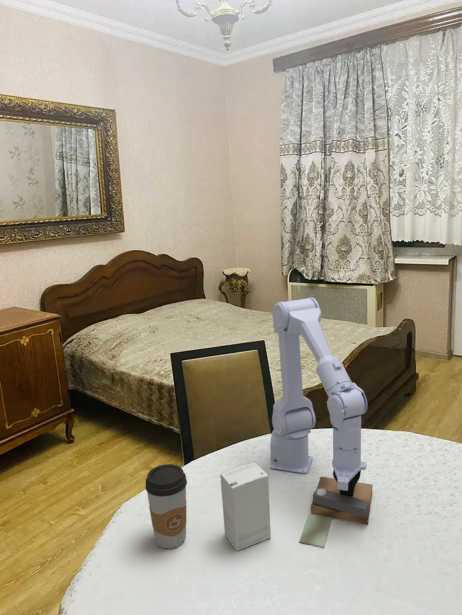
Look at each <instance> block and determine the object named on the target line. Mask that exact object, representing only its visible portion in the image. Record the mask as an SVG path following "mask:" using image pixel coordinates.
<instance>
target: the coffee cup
mask: <svg viewBox="0 0 462 615" xmlns="http://www.w3.org/2000/svg"><path fill="white" fill-rule="evenodd" d="M186 475H187V474H186V473H185V472H184V470H183V468H182V467H181V466H180V465H177V464H171V463H169V464H167V463H166V464H160V465H157V466H155V467H153V468H151V469H150V470H149V471H148V473H147V477H146V478H145V486H144V488H145V491H146V493H147V494H146V495H147V500H148V508H149V513H150V519H151V524H152V525H151V526H152V528H153V535H154V540H155V542H156V544H157V546H159V547H160V546H161V547H160V548H162V547H163V548H162V549H165V548H172V549H175V548H174V547H176V548H177V546H178V547H180V546H181V545H182V544H183V543H184V542H183V541H185V540H186V537H187V485H188V480H187V476H186ZM184 539H185V540H184ZM182 542H183V543H182ZM181 543H182V544H181ZM180 544H181V545H180ZM179 545H180V546H179Z"/></svg>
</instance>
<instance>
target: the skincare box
mask: <svg viewBox="0 0 462 615" xmlns="http://www.w3.org/2000/svg"><path fill="white" fill-rule="evenodd" d="M219 478H220V490H221V501H222V513H223V527H224V535H225V537H226V538H227V540H228V541H229V540H230V541H229V542H230V544H231V543H232V544H231V545H232V547H233V546H234V547H235V548H234V547H233V548H234V549H235V551H236V550H239V551H241V550H243V548H244V549H246V548H249V547H250V545H251V546H252V545H255V544H258V543H260V542H263V541H265V540H268V539H271V538H272V536H271V535H272V534H271V532H272V531H271V530H272V529H271V512H270V511H271V510H270V486H269V475H268V474H267V473H266V472H265V471H264V470H263V469H262V468H261V467H260V466H259V465H258V464H257V463H256V462H255V461H254V462H251V463H248V464H247V463H246V464H245V465H242V466H239V467H237V468H233V469H231V470H226V471H225V472H222V473H220V474H219ZM248 546H249V547H248ZM245 547H246V548H245ZM240 549H241V550H240Z"/></svg>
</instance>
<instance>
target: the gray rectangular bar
mask: <svg viewBox="0 0 462 615" xmlns="http://www.w3.org/2000/svg"><path fill="white" fill-rule="evenodd" d="M312 501H313V503H315V504H319V505H322V506H325V507H329V508H332V509H336V510H339V511H343V512H346V513H349V514H353V515H356V516H360V517H363V518H365V517H366V515H367V513H368V511H369V501H365V500H362V499H358V498H354V497H351V496H345V495H340V493H336V492H332V491H329V490H325V489H321V488H318V487H317V486H316V489H315V491H314V492H313V494H312Z"/></svg>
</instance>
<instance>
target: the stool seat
mask: <svg viewBox="0 0 462 615" xmlns="http://www.w3.org/2000/svg"><path fill="white" fill-rule="evenodd" d="M317 487H318V488H321V489H325V490H329V491H332V492H336V493H340V490H339V489H338V484H337V482H336V480H335V479H334V477H327V476H319V480H318V483H317V486H316V488H317ZM353 497H354V498H358V499H362V500H365V501H369V511H368V513H367V515H366V517H365V518H363V517H360V516H356V515H353V514H349V513H346V512H343V511H339V510H336V509H332V508H329V507H325V506H322V505H319V504H315V503H313V500H312V502H311V505H310V513H307V517H306V520H305V522H304V527H303V528H302V531H301V535H300V538H299V541H298V543H299V544H304V545H309V546H313V547H318V548H323V549H325V545H326V542H327V537H328V535H329V531H330V527H331V522H332V519H333V520H341V521H345V522H351V523H356V524H361V525H368V524H369V517H370V510H371V505H372V504H371V503H372V498H373V483H372V484H371V483H365V482H359V481H358V482H357V484H356V486H355V489H354V494H353Z"/></svg>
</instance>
